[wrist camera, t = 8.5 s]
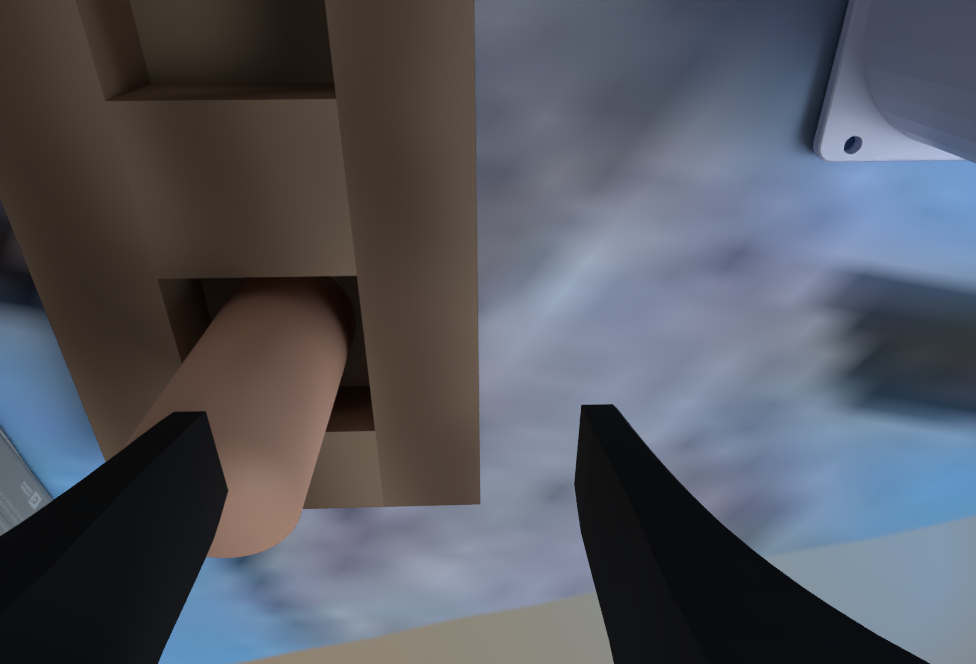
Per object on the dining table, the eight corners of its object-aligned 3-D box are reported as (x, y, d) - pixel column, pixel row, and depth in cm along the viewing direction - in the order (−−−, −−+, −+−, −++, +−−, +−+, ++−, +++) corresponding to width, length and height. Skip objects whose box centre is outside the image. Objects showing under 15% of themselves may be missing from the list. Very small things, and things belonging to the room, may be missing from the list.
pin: (349, 262, 20) (288, 421, 13) (361, 369, 22) (313, 556, 15) (220, 262, 20) (87, 422, 13) (243, 369, 22) (139, 559, 15)
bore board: (468, -361, 13) (468, -442, 11) (478, 447, 24) (480, 504, 22) (-116, -368, 13) (-261, -452, 10) (163, 454, 24) (126, 513, 21)
